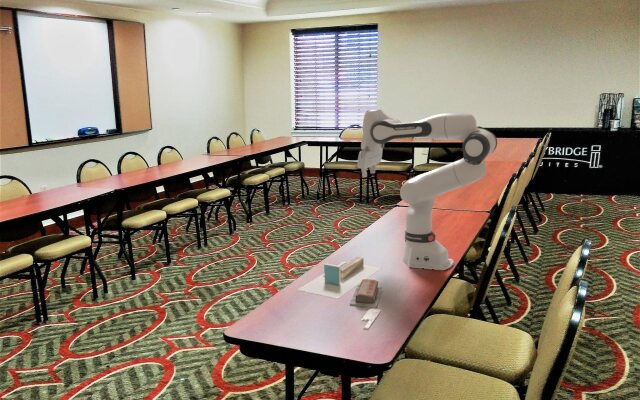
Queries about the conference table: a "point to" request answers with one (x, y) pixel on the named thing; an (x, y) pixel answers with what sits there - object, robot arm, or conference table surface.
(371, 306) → the packaged product
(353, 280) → the mat
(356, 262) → the long tan strip
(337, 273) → the tile
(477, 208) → the conference table surface
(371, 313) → the white notched flat strip
